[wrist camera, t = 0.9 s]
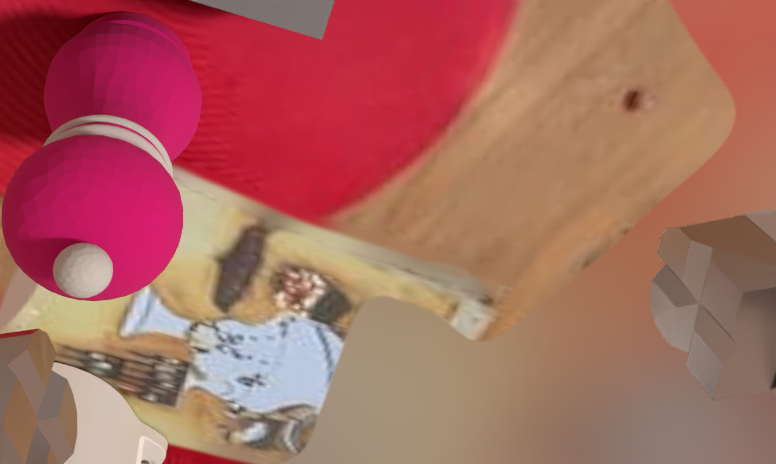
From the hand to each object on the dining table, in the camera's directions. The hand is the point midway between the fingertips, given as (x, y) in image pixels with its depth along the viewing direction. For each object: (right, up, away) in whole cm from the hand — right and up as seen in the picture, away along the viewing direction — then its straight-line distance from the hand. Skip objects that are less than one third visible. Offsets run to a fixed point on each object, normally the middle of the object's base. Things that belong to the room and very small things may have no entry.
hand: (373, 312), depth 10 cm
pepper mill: (-14, +10, +29) cm, 34 cm away
